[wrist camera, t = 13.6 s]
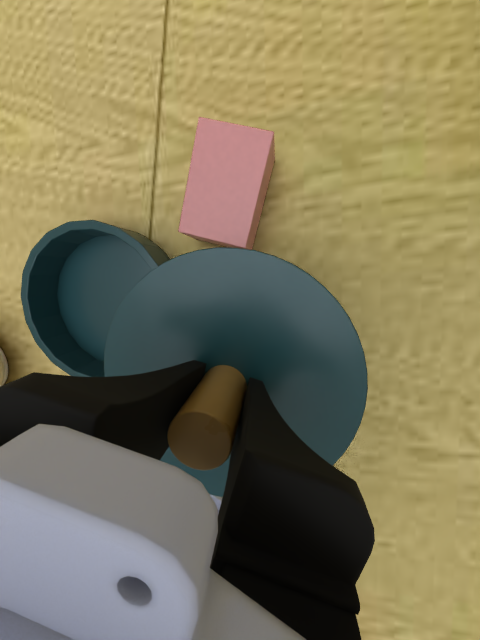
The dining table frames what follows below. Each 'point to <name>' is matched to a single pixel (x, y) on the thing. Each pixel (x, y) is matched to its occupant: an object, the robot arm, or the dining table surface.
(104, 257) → the tin
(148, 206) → the dining table surface
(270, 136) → the soap
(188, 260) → the lid
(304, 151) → the dining table surface
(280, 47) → the dining table surface
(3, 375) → the trinket box
